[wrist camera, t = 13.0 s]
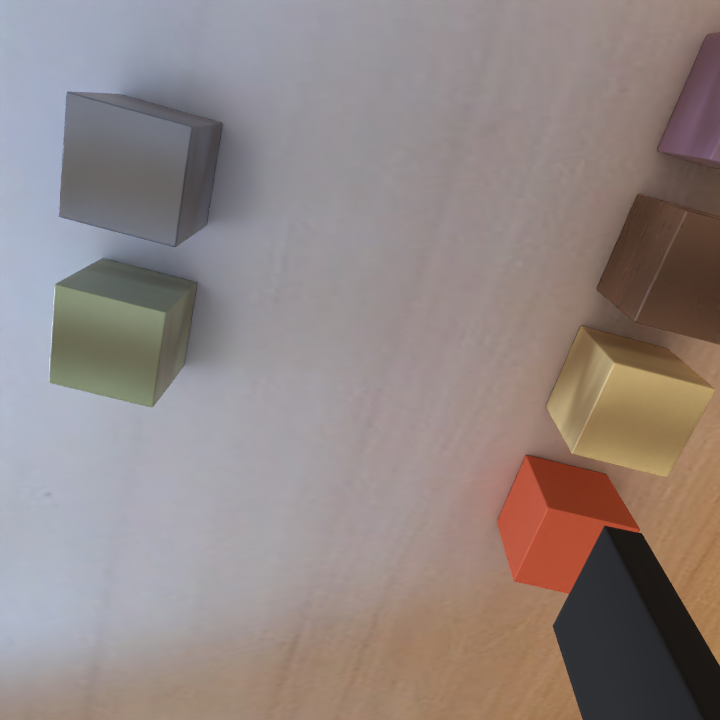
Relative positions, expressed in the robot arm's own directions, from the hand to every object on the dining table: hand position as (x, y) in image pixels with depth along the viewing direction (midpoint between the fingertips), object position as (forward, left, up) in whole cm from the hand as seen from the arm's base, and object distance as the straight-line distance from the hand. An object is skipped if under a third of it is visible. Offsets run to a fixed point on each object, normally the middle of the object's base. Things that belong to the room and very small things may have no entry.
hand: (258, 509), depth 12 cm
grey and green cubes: (+2, -9, -21) cm, 23 cm away
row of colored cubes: (-4, +16, -21) cm, 27 cm away
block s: (+11, +16, -21) cm, 28 cm away
